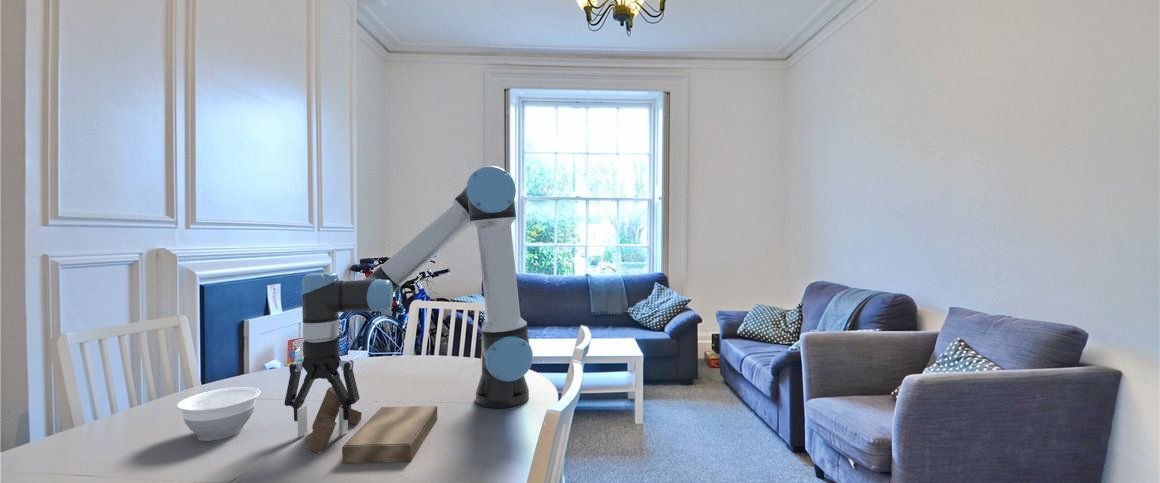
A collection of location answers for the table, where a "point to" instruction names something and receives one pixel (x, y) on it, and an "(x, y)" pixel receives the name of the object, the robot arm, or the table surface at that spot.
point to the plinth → (390, 435)
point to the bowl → (219, 411)
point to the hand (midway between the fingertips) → (323, 433)
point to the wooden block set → (328, 421)
